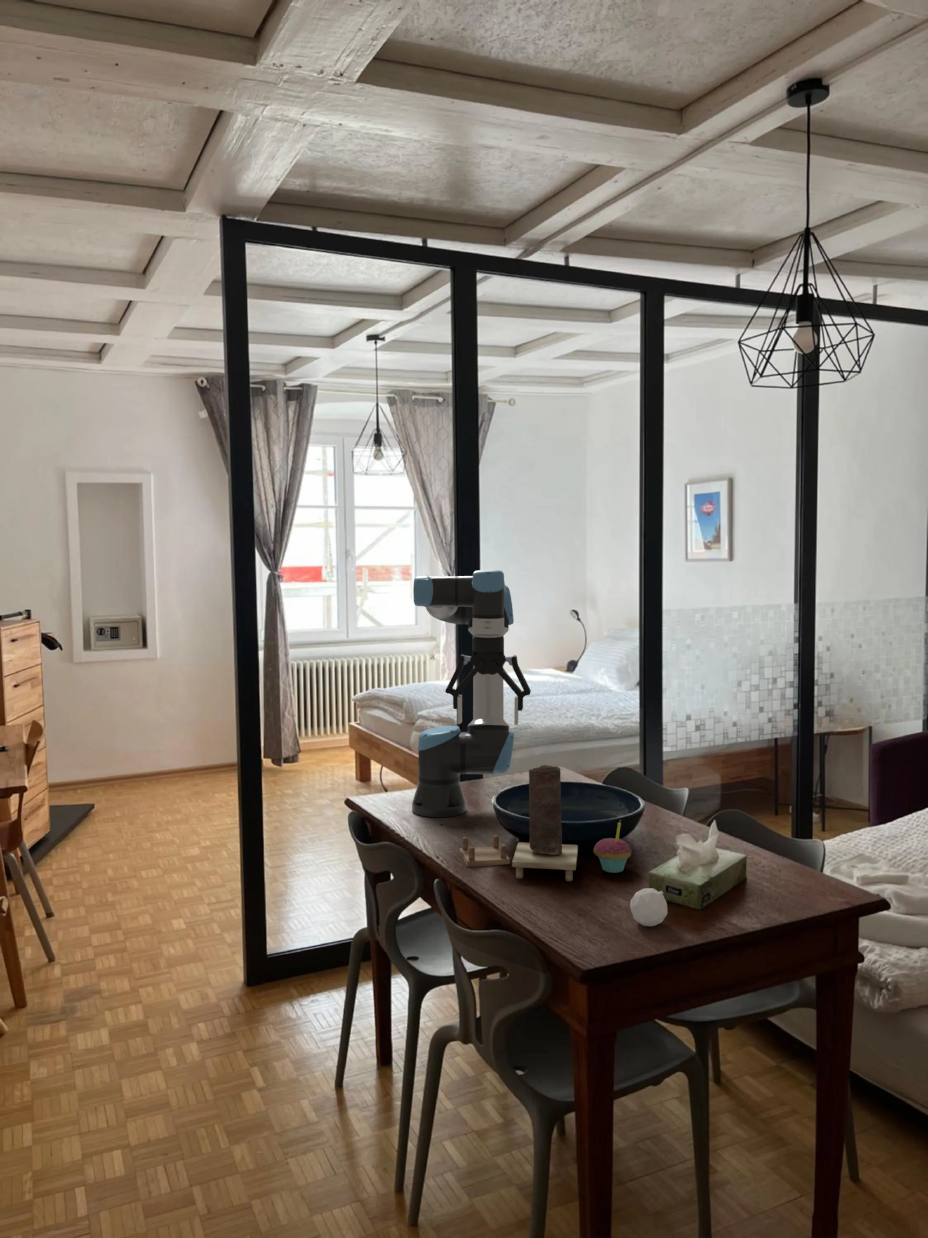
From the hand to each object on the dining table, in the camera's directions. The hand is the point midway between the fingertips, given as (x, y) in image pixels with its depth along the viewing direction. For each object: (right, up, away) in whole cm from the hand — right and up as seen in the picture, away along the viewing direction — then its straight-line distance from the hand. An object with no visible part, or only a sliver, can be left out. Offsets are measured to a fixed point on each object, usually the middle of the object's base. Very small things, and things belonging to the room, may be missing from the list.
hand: (487, 723), depth 226 cm
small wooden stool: (+13, -32, -11) cm, 36 cm away
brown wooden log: (+13, -29, -11) cm, 33 cm away
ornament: (+30, -35, -42) cm, 62 cm away
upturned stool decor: (-1, -32, -2) cm, 32 cm away
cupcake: (+28, -33, -10) cm, 44 cm away
